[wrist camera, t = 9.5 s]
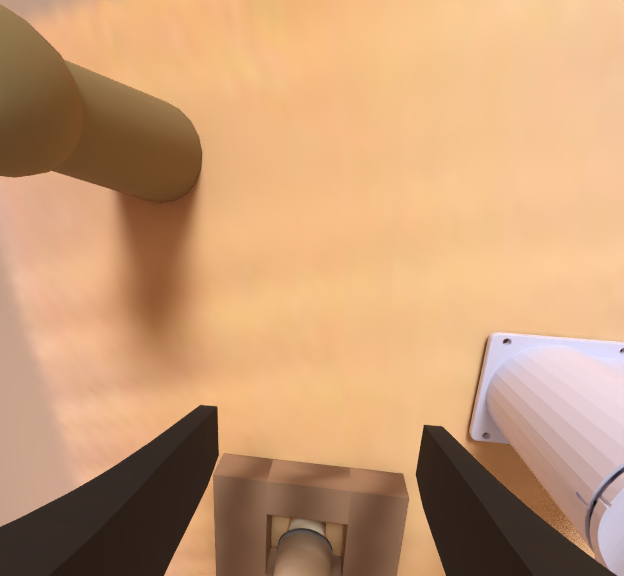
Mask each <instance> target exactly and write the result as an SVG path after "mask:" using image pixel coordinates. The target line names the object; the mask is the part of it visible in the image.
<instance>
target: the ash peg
mask: <svg viewBox="0 0 624 576" xmlns="http://www.w3.org/2000/svg"><path fill="white" fill-rule="evenodd" d="M325 531H326V523H325V522H323V521H315V520H308V519H300V518H292V517H290V521H289V527H288V532H286V533H285V534H284V535H282V537H281V538H280V540H279V542H278V547H277V559H276V564H275V570H274V575H273V576H331V561H332V547H331V544H330V542H329V541H328V540H327V539H326V537H325Z"/></svg>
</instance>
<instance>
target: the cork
mask: <svg viewBox="0 0 624 576" xmlns="http://www.w3.org/2000/svg"><path fill="white" fill-rule="evenodd" d="M201 161H202V150H201V145H200V140H199V136H198V134H197V132H196V130H195V128H194V126H193V124H192V122H191V121H190V120H189V119H188V118H187V117H186V116H185V115H184V114H183V113H182V111H181V110H180V109H178V108H176V107H174V106H173V105H171V104H169V103H167V102H165V101H163V100H160V99H158V98H156V97H153V96H151V95H148V94H146V93H143V92H141V91H139V90H136V89H134V88H131V87H129V86H127V85H124V84H122V83H119V82H117V81H114V80H112V79H110V78H107V77H105V76H102V75H100V74H98V73H95V72H93V71H90V70H88V69H85V68H83V67H81V66H78V65H76V64H73V63H71V62H69V61H66V60H64V59H63V58H62V56H61V55H60V54H59V53H58V52H57V51H56V50H55V49H54V47H53V46H52V45H51V44H50V43H49V42H48V41H47V40H46V39H45V38H44V37H43V36H42V35H41V34H39V33H38V32H37V31H36V30H35V29H34V28H33V27H32V26H31V25H30V24H29V23H28V22H27V21H26V20H24V19H23V18H21V17H20V16H18V15H17V14H15V13H13V12H12V11H10V10H9V9H7V8H6V7H4V6H2V5H0V176H6V177H22V176H30V175H35V174H41V173H46V172H49V171H54V172H57V173H61V174H64V175H67V176H70V177H74V178H77V179H80V180H83V181H87V182H90V183H93V184H96V185H99V186H103V187H106V188H109V189H112V190H116V191H119V192H122V193H125V194H128V195H132V196H135V197H138V198H141V199H145V200H148V201H154V202H160V203H162V202H168V201H174V200H176V199H178V198H179V197H181V196H183V195H185V194H186V193H187V192H188V191H189V190H190V189H191V187H192V186H193V185H194V184H195V182H196V180H197V177H198V175H199V172H200V170H201Z"/></svg>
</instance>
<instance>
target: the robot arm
mask: <svg viewBox="0 0 624 576" xmlns="http://www.w3.org/2000/svg"><path fill="white" fill-rule="evenodd" d="M506 338H508V341H507V342H506V343H503V340H504V339H506ZM621 349H623V350H622V351H621V352H620V350H621ZM484 433H487V434H486V435H483V434H484ZM469 434H470V436H471V437H472V439H474V440H476V441H484V442H493V443H503V444H511V445H512V447H513V448H514V449H515V451H516V452H517V453H518V455H519V456H520V457H521V458H522V460H523V461H524V462H525V464H526V465H527V466H528V468H529V469H530V470H531V472H532V473H533V474H534V476H535V477H536V478H537V479H538V481H539V482H540V483H541V485H542V486H543V487H544V489H545V490H546V491H547V493H548V494H549V495H550V496H551V498H552V499H553V500H554V502H555V503H556V504H557V506H558V507H559V508H560V510H561V511H562V512H563V514H564V515H565V516H566V517H567V519H568V520H569V521H570V523H571V524H572V525H573V527H574V528H575V529H576V531H577V532H578V533H579V534H580V536H581V537H582V538H583V540H584V541H585V542H586V544H587V545H588V546H589V548H590V549H591V550H592V551H593V553H594V554H595V559H593V558H592V557H590V556H589V555H588V554H586V553H585V552H584V551H582V550H581V549H580V548H578V547H577V546H576V545H574V544H573V543H572V542H571V541H569V540H568V539H567V538H566V537H564V536H563V535H562V534H560V533H559V532H558V531H557V530H555V529H554V528H553V527H552V526H550V525H549V524H548V523H546V522H545V521H544V520H543V519H542V518H540V517H539V516H538V515H537V514H536V513H534V512H533V511H532V510H531V509H530V508H529V507H527V506H526V505H525V504H524V503H523V502H522V501H520V500H519V499H518V498H517V497H516V496H515V495H514V494H512V493H511V492H510V491H509V490H508V489H507V488H506V487H505V486H504V485H502V484H501V483H500V482H499V481H498V480H497V479H496V478H495V477H494V476H493V475H492V474H491V473H490V472H489V471H487V470H486V469H485V468H484V467H483V466H482V465H481V464H480V463H479V462H478V461H477V460H476V459H475V458H474V457H473V456H472V455H471V454H470V453H469V452H468V451H467V450H466V449H465V448H464V447H463V446H462V445H461V444H460V443H459V442H458V441H457V440H456V439H455V438H454V437H453V436H452V435H451V434H450V433H449V432H448V431H447V430H445V429H444V428H443V427H442V426H431V425H424V428H423V434H422V440H421V446H420V452H419V458H418V464H417V470H416V478H417V482H418V487H419V492H420V496H421V500H422V505H423V509H424V512H425V515H426V518H427V521H428V524H429V527H430V530H431V533H432V536H433V539H434V542H435V545H436V547H437V550H438V553H439V556H440V559H441V562H442V565H443V568H444V571H445V574H446V576H624V342H617V341H604V340H592V339H579V338H566V337H553V336H541V335H528V334H515V333H502V332H494V333H492V334H491V335H490V336H489V338H488V342H487V347H486V352H485V356H484V361H483V366H482V371H481V376H480V381H479V386H478V390H477V395H476V400H475V405H474V410H473V415H472V420H471V424H470V429H469ZM218 456H219V450H218V414H217V407H216V406H205V405H200V406H199V407H197V408H196V409H194V410H193V411H192V412H190V413H189V414H188V415H186V416H185V417H184V418H182V419H181V420H180V421H178V422H177V423H176V424H174V425H173V426H172V427H170V428H169V429H167V430H166V431H165V432H163V433H162V434H161V435H159V436H158V437H157V438H155V439H154V440H152V441H151V442H150V443H148V444H147V445H145V446H144V447H142V448H141V449H139V450H138V451H136V452H135V453H133V454H132V455H130V456H129V457H127V458H126V459H124V460H123V461H121V462H120V463H118V464H117V465H115V466H114V467H112V468H111V469H109V470H107V471H106V472H104V473H102V474H101V475H99V476H97V477H96V478H94V479H92V480H91V481H89V482H87V483H85V484H84V485H82V486H80V487H78V488H77V489H75V490H73V491H71V492H69V493H68V494H66V495H64V496H62V497H60V498H58V499H56V500H54V501H52V502H50V503H48V504H46V505H44V506H42V507H40V508H38V509H37V510H35V511H33V512H31V513H29V514H27V515H25V516H23V517H21V518H19V519H17V520H15V521H12V522H10V523H8V524H6V525H4V526H2V527H0V576H164V574H165V572H166V570H167V568H168V566H169V563H170V561H171V559H172V557H173V555H174V553H175V551H176V549H177V547H178V545H179V543H180V541H181V539H182V537H183V535H184V533H185V531H186V529H187V527H188V525H189V523H190V521H191V519H192V517H193V515H194V513H195V511H196V509H197V507H198V505H199V502H200V500H201V498H202V496H203V494H204V492H205V490H206V488H207V486H208V483H209V481H210V478H211V475H212V473H213V470H214V467H215V464H216V461H217V458H218Z"/></svg>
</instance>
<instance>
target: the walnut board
mask: <svg viewBox="0 0 624 576" xmlns="http://www.w3.org/2000/svg"><path fill="white" fill-rule="evenodd" d="M213 485H214V518H215V550H216V576H273V575H274V570H275V564H276V559H277V548H273V547H271V524H272V515H276V516H284V517H292V518H300V519H308V520H315V521H323V522H331V523H339V524H344V534H343V544H342V554H341V557H340V556H332V561H331V576H397V570H398V564H399V558H400V551H401V545H402V539H403V533H404V526H405V520H406V514H407V508H408V502H409V496H408V492H407V488H406V484H405V480H404V476H403V474H399V473H390V472H381V471H373V470H364V469H355V468H346V467H337V466H329V465H320V464H311V463H302V462H293V461H285V460H276V459H267V458H258V457H249V456H240V455H232V454H223V456H222V458H221V460H220V462H219V464H218V466H217V468H216V470H215V472H214V474H213Z"/></svg>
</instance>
